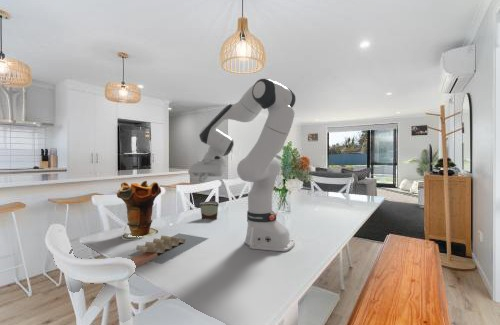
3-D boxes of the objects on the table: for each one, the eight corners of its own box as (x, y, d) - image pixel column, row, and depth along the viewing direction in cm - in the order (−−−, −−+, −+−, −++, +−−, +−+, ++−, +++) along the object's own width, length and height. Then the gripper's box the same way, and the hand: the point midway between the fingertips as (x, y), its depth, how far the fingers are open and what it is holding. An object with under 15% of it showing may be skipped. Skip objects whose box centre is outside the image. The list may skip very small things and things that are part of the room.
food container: (221, 216, 156) (221, 201, 155) (219, 219, 150) (218, 203, 149) (202, 216, 157) (202, 201, 157) (199, 219, 151) (199, 203, 150)
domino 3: (163, 243, 104) (145, 241, 96) (172, 245, 102) (155, 243, 93) (162, 247, 103) (144, 245, 95) (171, 249, 101) (154, 247, 93)
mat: (208, 240, 114) (208, 238, 114) (161, 266, 88) (161, 264, 88) (179, 234, 122) (179, 233, 122) (127, 257, 96) (127, 255, 96)
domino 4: (170, 240, 108) (153, 238, 99) (179, 242, 105) (163, 240, 97) (169, 244, 107) (152, 242, 99) (178, 246, 105) (161, 244, 96)
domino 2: (148, 250, 96) (125, 260, 87) (157, 252, 94) (135, 263, 85) (148, 254, 97) (125, 264, 88) (157, 256, 94) (135, 267, 85)
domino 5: (176, 237, 111) (161, 235, 103) (185, 239, 109) (170, 236, 101) (176, 241, 111) (160, 239, 102) (184, 242, 108) (169, 240, 100)
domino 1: (156, 246, 100) (137, 245, 92) (165, 248, 98) (146, 247, 90) (155, 250, 100) (135, 249, 91) (164, 253, 98) (145, 251, 89)
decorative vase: (147, 224, 140) (147, 175, 138) (170, 234, 125) (170, 180, 123) (108, 233, 124) (107, 179, 122) (129, 246, 109) (128, 185, 107)
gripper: (192, 158, 133) (181, 177, 125) (224, 157, 125) (214, 177, 116) (197, 165, 138) (187, 185, 129) (229, 165, 129) (219, 185, 120)
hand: (200, 181), depth 122 cm, fingers closed
